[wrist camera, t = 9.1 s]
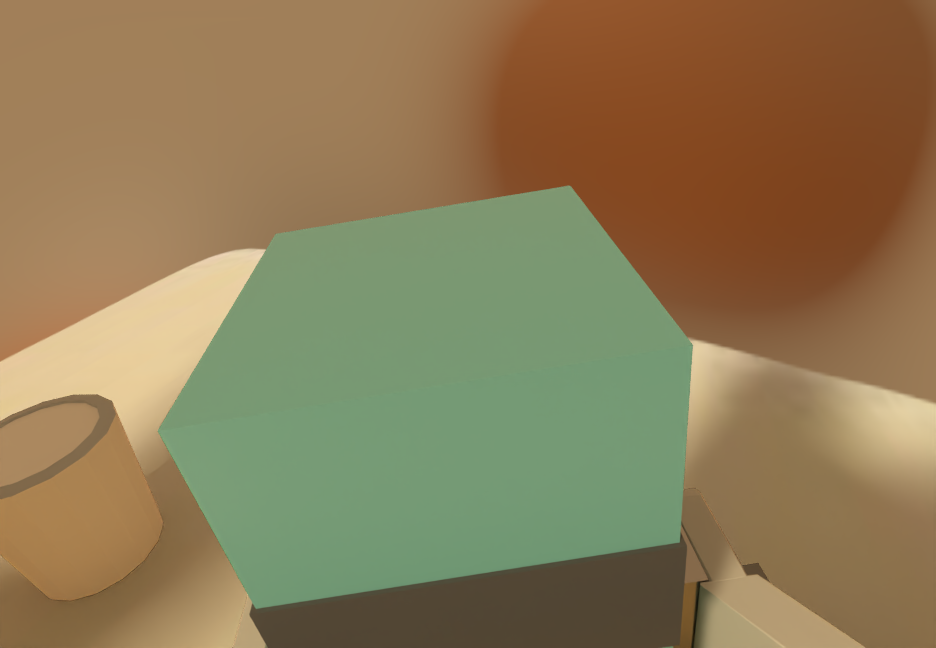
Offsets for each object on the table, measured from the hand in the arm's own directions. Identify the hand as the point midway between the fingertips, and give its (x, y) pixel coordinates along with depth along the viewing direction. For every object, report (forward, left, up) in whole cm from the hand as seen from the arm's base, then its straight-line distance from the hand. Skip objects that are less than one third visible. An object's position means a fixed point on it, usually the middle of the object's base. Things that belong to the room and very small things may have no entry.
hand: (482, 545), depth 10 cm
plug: (0, -1, -7) cm, 8 cm away
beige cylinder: (-19, +14, -13) cm, 27 cm away
